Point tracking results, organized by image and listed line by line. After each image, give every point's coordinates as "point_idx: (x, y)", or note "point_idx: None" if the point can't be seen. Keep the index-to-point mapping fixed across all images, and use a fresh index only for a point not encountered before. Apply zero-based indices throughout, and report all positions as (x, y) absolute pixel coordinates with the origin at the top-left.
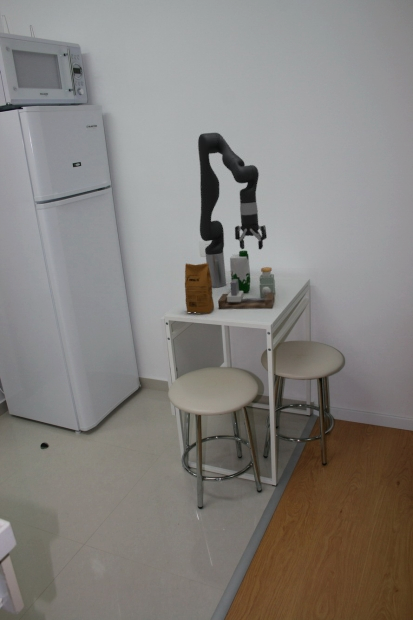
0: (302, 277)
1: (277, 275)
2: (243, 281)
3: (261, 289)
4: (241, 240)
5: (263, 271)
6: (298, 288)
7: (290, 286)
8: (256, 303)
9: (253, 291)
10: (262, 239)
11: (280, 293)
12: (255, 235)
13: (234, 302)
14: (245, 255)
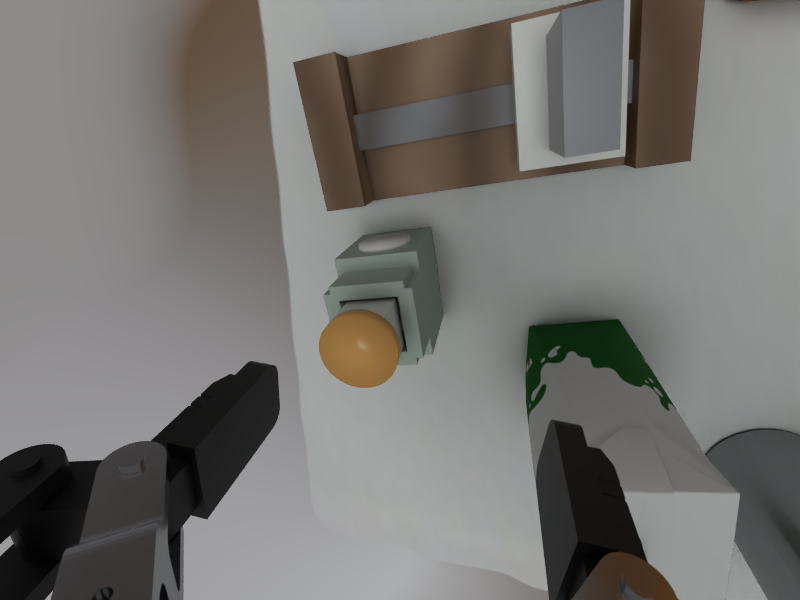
0: (334, 518)
1: (446, 557)
2: (559, 353)
3: (411, 242)
4: (596, 570)
5: (370, 312)
6: (300, 388)
7: (344, 416)
8: (411, 85)
9: (505, 355)
10: (88, 469)
11: None
12: (115, 568)
13: None
14: None
